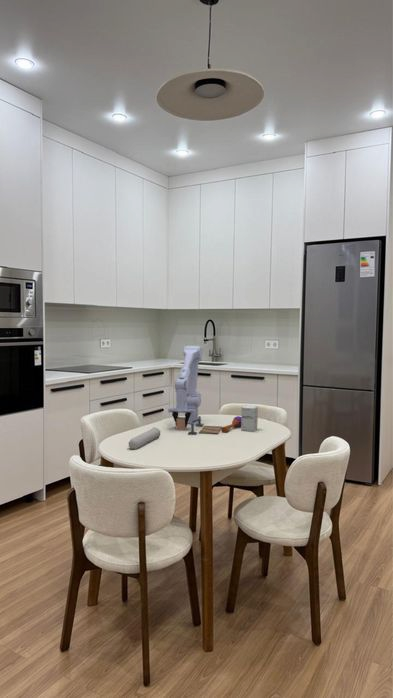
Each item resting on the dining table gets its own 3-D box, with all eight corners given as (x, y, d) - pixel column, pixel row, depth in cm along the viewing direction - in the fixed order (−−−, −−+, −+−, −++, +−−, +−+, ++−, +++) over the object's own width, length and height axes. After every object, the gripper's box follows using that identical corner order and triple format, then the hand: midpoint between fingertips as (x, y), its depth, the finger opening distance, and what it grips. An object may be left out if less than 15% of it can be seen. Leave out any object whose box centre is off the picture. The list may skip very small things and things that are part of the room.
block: (178, 427, 258) (178, 417, 258) (186, 428, 257) (186, 417, 257) (176, 429, 254) (176, 418, 253) (184, 430, 253) (184, 419, 253)
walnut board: (204, 426, 261) (204, 425, 261) (222, 427, 259) (222, 426, 259) (198, 433, 246) (198, 432, 246) (217, 434, 244) (218, 433, 244)
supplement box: (240, 430, 253) (241, 407, 252) (244, 427, 259) (244, 404, 259) (254, 431, 250) (254, 408, 249) (257, 429, 257) (258, 405, 256)
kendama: (217, 424, 249) (234, 415, 266) (220, 435, 249) (236, 425, 266) (227, 424, 246) (244, 414, 263) (230, 435, 246) (246, 425, 263)
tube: (137, 442, 212) (161, 430, 236) (127, 437, 214) (152, 425, 237) (134, 453, 213) (158, 439, 237) (124, 448, 215) (149, 435, 238)
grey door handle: (196, 424, 266) (196, 415, 266) (203, 425, 265) (203, 415, 265) (187, 434, 243) (187, 424, 242) (195, 435, 242) (195, 424, 242)
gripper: (166, 401, 252) (166, 427, 253) (193, 402, 249) (193, 428, 250) (169, 399, 259) (169, 424, 260) (196, 400, 256) (195, 425, 257)
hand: (181, 426), depth 255 cm, fingers closed on block, 4 cm apart
